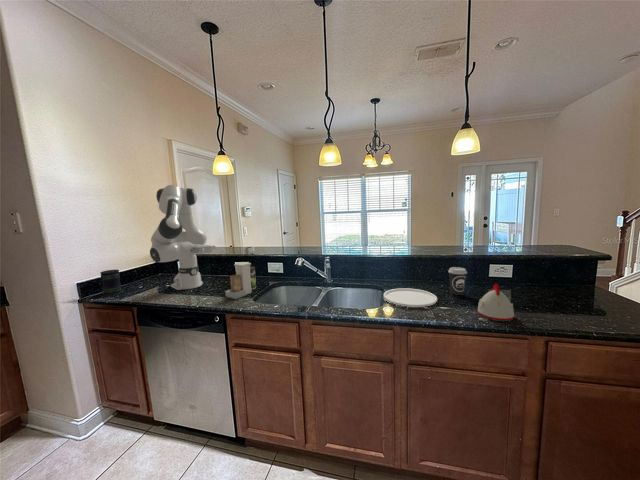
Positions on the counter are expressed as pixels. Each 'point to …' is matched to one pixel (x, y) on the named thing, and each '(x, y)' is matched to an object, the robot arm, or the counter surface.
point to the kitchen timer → (496, 305)
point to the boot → (241, 281)
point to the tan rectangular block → (235, 283)
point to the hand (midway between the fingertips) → (209, 246)
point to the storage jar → (110, 282)
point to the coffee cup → (457, 280)
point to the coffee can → (252, 277)
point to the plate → (410, 297)
